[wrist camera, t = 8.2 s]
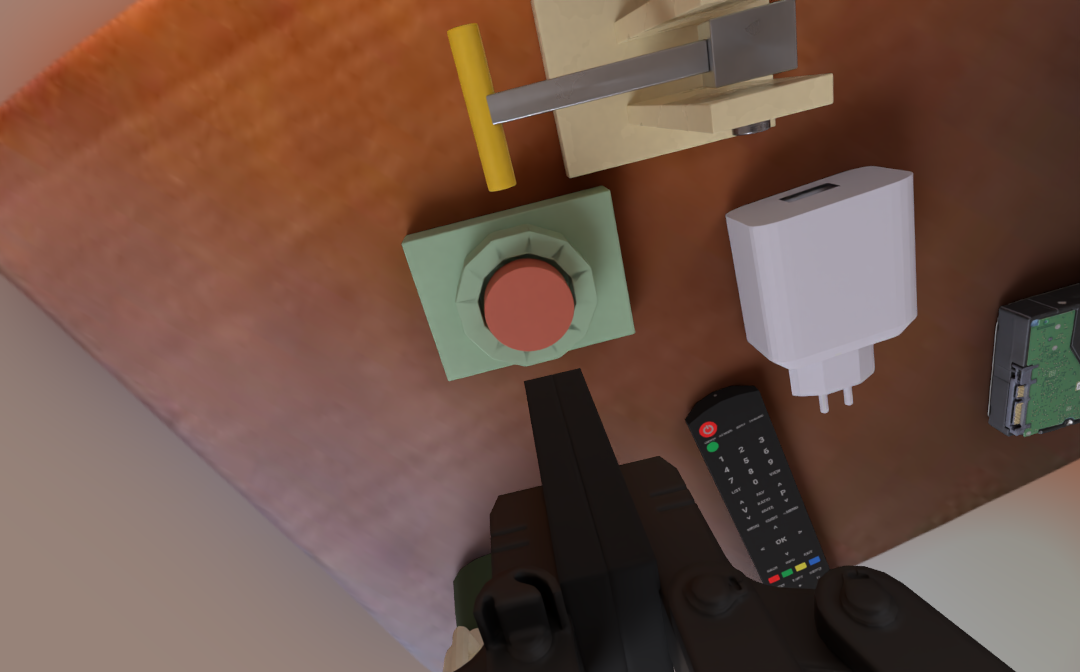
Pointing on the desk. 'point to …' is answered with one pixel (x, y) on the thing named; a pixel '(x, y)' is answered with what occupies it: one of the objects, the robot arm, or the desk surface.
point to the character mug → (467, 613)
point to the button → (528, 305)
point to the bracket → (662, 110)
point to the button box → (523, 232)
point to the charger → (827, 275)
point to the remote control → (757, 486)
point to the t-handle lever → (621, 75)
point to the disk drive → (1037, 364)
